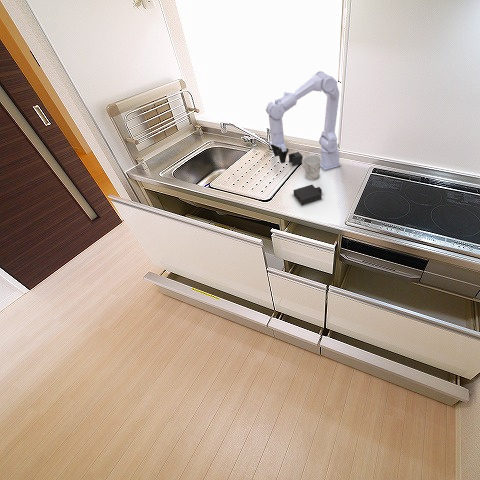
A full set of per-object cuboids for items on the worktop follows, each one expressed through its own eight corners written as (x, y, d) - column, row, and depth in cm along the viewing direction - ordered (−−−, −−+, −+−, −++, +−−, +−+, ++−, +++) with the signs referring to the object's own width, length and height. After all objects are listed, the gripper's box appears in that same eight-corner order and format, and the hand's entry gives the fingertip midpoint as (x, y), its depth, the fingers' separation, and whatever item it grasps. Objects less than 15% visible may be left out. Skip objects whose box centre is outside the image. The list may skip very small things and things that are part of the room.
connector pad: (298, 159, 147) (298, 151, 144) (302, 163, 144) (302, 155, 141) (289, 161, 145) (288, 154, 142) (293, 165, 142) (292, 158, 139)
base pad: (315, 188, 127) (316, 183, 125) (325, 198, 122) (325, 192, 120) (293, 195, 123) (293, 189, 121) (302, 205, 118) (301, 200, 116)
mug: (297, 174, 136) (296, 156, 129) (308, 168, 140) (307, 150, 133) (312, 182, 131) (312, 164, 123) (324, 176, 135) (324, 158, 128)
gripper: (262, 127, 120) (266, 154, 130) (274, 139, 112) (278, 168, 121) (277, 124, 123) (279, 151, 133) (289, 136, 114) (291, 164, 124)
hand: (279, 159), depth 127 cm, fingers open, 7 cm apart
